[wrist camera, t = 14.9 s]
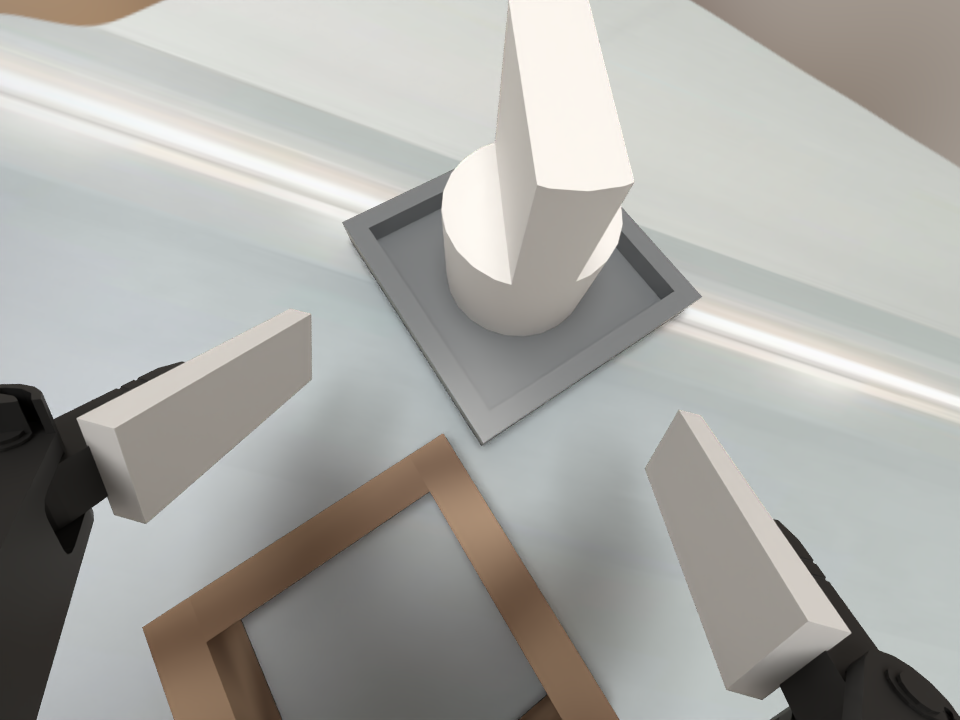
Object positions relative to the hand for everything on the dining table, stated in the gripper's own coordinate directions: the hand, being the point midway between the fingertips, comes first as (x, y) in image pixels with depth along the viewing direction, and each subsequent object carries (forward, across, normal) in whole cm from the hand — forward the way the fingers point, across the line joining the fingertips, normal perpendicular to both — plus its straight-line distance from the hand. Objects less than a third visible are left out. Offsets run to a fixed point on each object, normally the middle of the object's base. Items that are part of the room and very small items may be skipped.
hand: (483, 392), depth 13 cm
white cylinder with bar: (+13, 0, +1) cm, 13 cm away
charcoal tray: (+13, 0, +1) cm, 13 cm away
